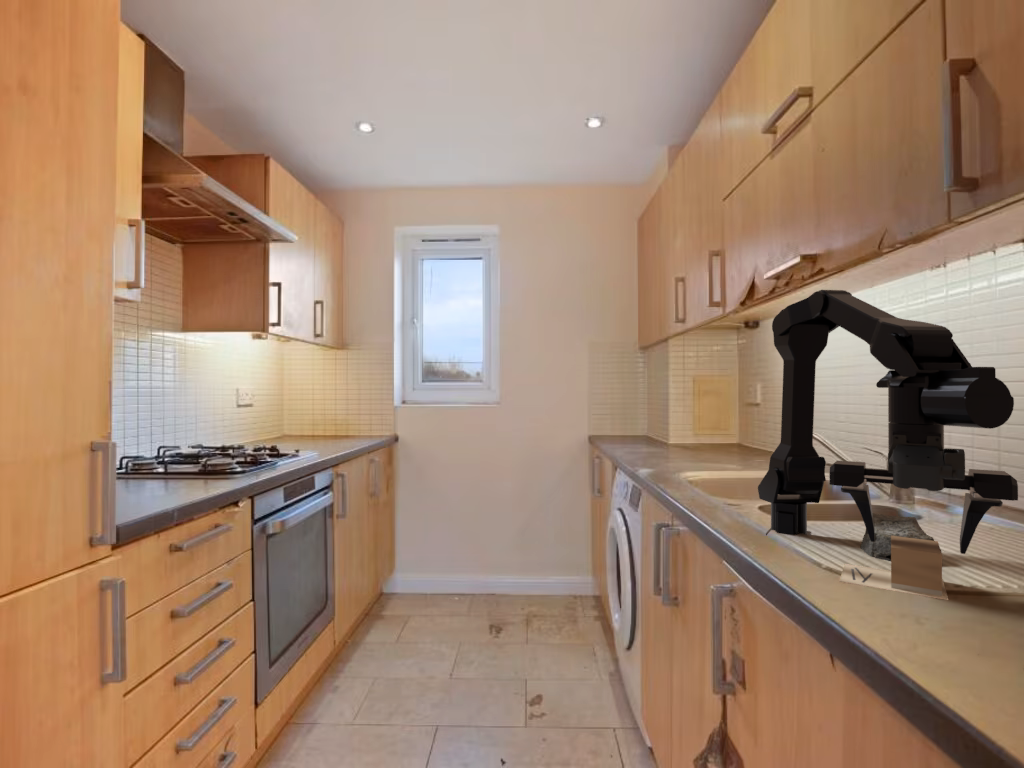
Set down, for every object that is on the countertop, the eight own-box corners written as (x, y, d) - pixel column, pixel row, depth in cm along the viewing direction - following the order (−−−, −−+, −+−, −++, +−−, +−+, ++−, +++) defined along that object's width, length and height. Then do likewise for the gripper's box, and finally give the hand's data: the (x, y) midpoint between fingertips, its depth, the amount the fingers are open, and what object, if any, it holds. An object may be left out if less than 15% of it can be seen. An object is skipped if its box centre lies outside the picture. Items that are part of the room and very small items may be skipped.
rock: (949, 575, 78) (947, 528, 78) (881, 572, 79) (880, 526, 79) (899, 549, 91) (898, 509, 91) (842, 547, 92) (841, 507, 93)
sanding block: (891, 572, 75) (891, 535, 75) (937, 580, 72) (937, 541, 72) (891, 587, 69) (891, 547, 69) (942, 596, 66) (941, 554, 66)
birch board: (844, 572, 79) (844, 563, 79) (942, 587, 73) (942, 578, 73) (839, 590, 71) (839, 581, 71) (948, 610, 65) (948, 599, 65)
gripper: (825, 423, 69) (825, 549, 69) (1027, 430, 59) (1028, 578, 59) (832, 420, 78) (833, 531, 78) (1008, 425, 68) (1009, 553, 68)
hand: (916, 547), depth 70 cm, fingers open, 9 cm apart
